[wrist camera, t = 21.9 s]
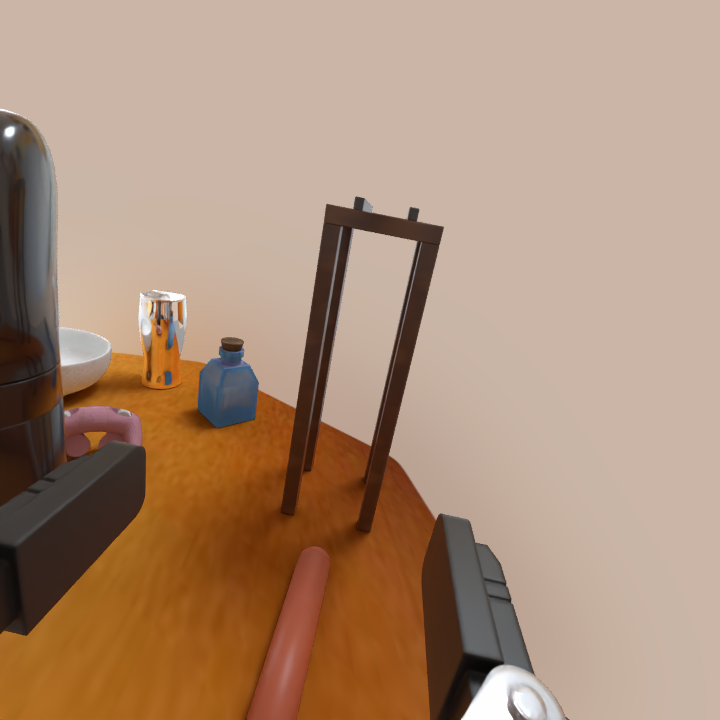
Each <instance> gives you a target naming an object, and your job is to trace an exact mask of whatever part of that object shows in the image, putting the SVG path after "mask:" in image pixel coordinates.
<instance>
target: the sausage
mask: <svg viewBox="0 0 720 720" xmlns="http://www.w3.org/2000/svg"><path fill="white" fill-rule="evenodd" d="M329 569H330V559H329V556H328V554H327V552H326V551H325V550H324V549H322V548H321V547H318V546H312V547H308V548H306V549H305V550H304V551H303V552H302V553H301V554H300V556H299V558H298V561H297V564H296V567H295V570H294V573H293V576H292V579H291V582H290V585H289V588H288V591H287V595H286V598H285V601H284V604H283V607H282V610H281V613H280V616H279V619H278V622H277V625H276V628H275V632H274V635H273V638H272V641H271V644H270V647H269V650H268V653H267V656H266V659H265V662H264V666H263V669H262V672H261V675H260V678H259V681H258V684H257V687H256V690H255V693H254V696H253V700H252V703H251V706H250V709H249V712H248V715H247V718H246V720H297V715H298V711H299V706H300V702H301V697H302V692H303V688H304V683H305V679H306V674H307V670H308V665H309V661H310V656H311V651H312V647H313V642H314V638H315V633H316V629H317V624H318V619H319V615H320V610H321V606H322V601H323V597H324V592H325V588H326V583H327V578H328V574H329Z"/></svg>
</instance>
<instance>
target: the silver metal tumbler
mask: <svg viewBox="0 0 720 720" xmlns="http://www.w3.org/2000/svg"><path fill="white" fill-rule="evenodd" d="M138 323H139V334H140V339H141V345H142V349H143V355H144V369H143V374H142V378H141V383H142V384H143V385H144V386H146V387H149V388H153V389H169V388H173V387H176V386H178V385H179V384H180V383H181V374H180V368H179V362H180V355H181V350H182V347H183V343H184V338H185V333H186V324H187V307H186V296H185V295H183V294H180V293H176V292H170V291H160V290H149V291H143V292H141V293H140V304H139V316H138Z"/></svg>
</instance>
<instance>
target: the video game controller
mask: <svg viewBox="0 0 720 720" xmlns="http://www.w3.org/2000/svg"><path fill="white" fill-rule="evenodd" d="M64 418H65V435H66V451H67V454H68V455H69V456H72V457H79V456H82V455H84V454H85V453H87V452H88V451H89V449H90V441H89V439H88V438H87V437H86V436H85V435H84V433H86V432H107V434H106V435H105V436H104V437H102V439H101V440H100V442H99V449H100V448H102V447H103V446H104V445H106V444H107V443H109V442H110V441H113V440H116V441H121V442H126V443H130V444H134V445H139V446H142V428H141V420H140V418H139V417H138V416H137V415H136V414H134V413H132V412H129V411H127V410H124V409H120V408H115V407H108V406H89V407H81V408H76V409H72V410H67V411H64Z"/></svg>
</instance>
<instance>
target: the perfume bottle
mask: <svg viewBox="0 0 720 720" xmlns="http://www.w3.org/2000/svg"><path fill="white" fill-rule="evenodd" d="M221 343H222V346H221V347H220V348H219V355H220V356H221V358H215V359H211V360H210V361H209V362H208V364H207V365H206V366H205V367H204V368H203V369H202V371H201V372H200V378H199V395H198V411H199V412H200V413H201V414H202V415H204V416H205V417H206V418H207V419H208V420H209V421H210V422H211V423H212V424H213V425H214V426H215V427H216V428H220V427H224V426H228V425H232V424H236V423H240V422H245V421H249V420H253V419H255V412H256V403H257V394H258V385H259V383H258V380H257V379H256V376H255V375H254V373H253V370H252V369H251V367H250V365H249V364H247V363H245V362H244V361H243V360H241V358H242V357H243V356H244V349H243V348H242V346H243V343H244V341H243V340H241V339H238V338H232V337H226V338H222V339H221Z"/></svg>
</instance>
